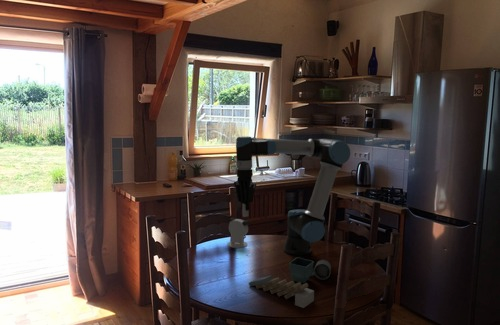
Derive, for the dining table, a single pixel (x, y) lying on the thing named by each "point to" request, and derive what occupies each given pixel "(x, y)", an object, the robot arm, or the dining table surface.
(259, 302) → the dining table surface
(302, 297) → the end block
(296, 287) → the domino
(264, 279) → the domino
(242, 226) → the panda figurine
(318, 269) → the ceramic mug
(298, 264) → the flower pot
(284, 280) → the domino
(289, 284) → the domino
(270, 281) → the domino
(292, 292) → the domino
